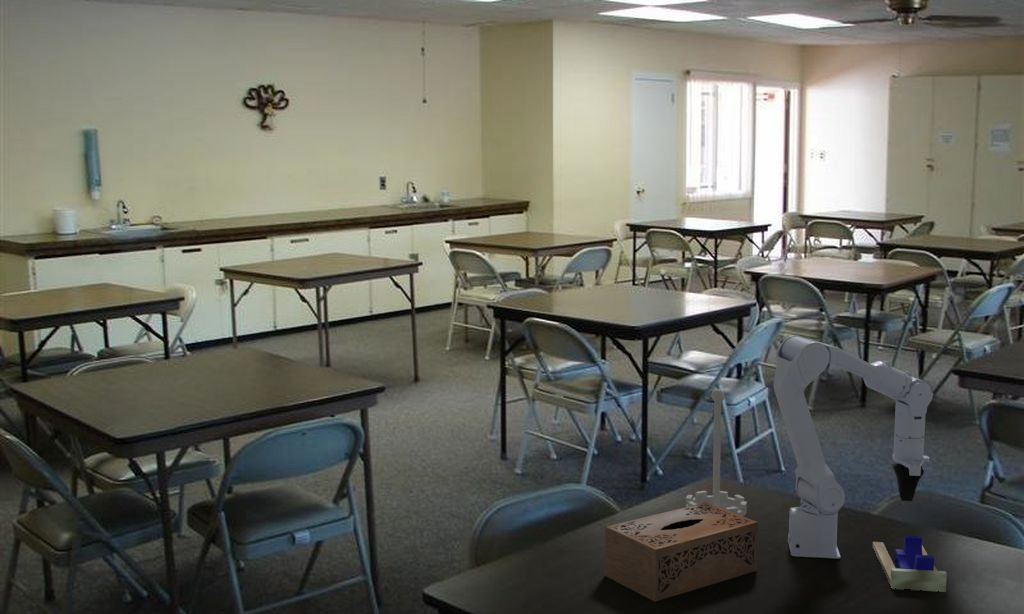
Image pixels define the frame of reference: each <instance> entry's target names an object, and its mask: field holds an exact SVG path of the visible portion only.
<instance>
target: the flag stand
mask: <svg viewBox="0 0 1024 614" xmlns="http://www.w3.org/2000/svg"><path fill="white" fill-rule="evenodd" d="M710 397H711V400H712V401H713V403H714V404H713V407H712V408H713V448H712V449H713V450H712V451H713V452H712V453H713V455H712V456H713V457H712V459H713V460H712V461H713V462H712V463H713V464H712V495H708V491H706V490H701V491H695V496H694V495H693V494H688V495H686V498H685V507H688V506H692V505H696V504H700V503H704V502H706V503H709V504H711V505H714V506H717V507H719V508H722V509H724V510H727V511H730V512H732V513H735V514H738V515H740V516H743V517H745V516H746V514H747V511H748V510H747V508H748V504H747V503H748V501H745V497H744V496H742V495H740V494H735V495H734V496H733V497H729V491H724V490H720V489H721V449H722V448H721V445H722V444H721V443H722V402H723V401H724V400H725V397H726V394H725V391H724V390H723V389H722V388H715V389H714V390H712V391H711V394H710Z"/></svg>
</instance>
